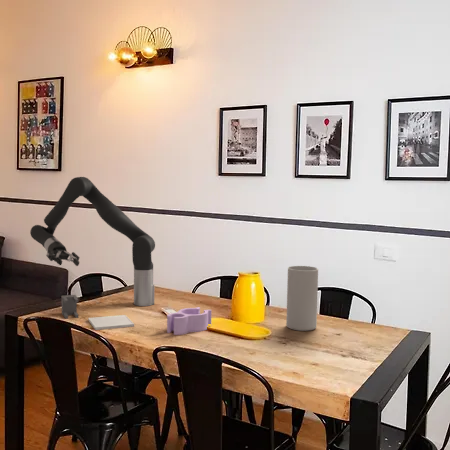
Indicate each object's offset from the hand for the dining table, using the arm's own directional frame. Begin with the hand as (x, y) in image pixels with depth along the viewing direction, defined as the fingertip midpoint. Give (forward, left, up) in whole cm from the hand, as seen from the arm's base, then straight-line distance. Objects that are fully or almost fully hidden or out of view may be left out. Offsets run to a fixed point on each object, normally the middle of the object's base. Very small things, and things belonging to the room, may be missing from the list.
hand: (69, 263), depth 258 cm
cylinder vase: (-86, +62, -22) cm, 108 cm away
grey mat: (-13, +29, -21) cm, 38 cm away
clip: (-41, +48, -22) cm, 66 cm away
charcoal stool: (+1, +10, -21) cm, 24 cm away
